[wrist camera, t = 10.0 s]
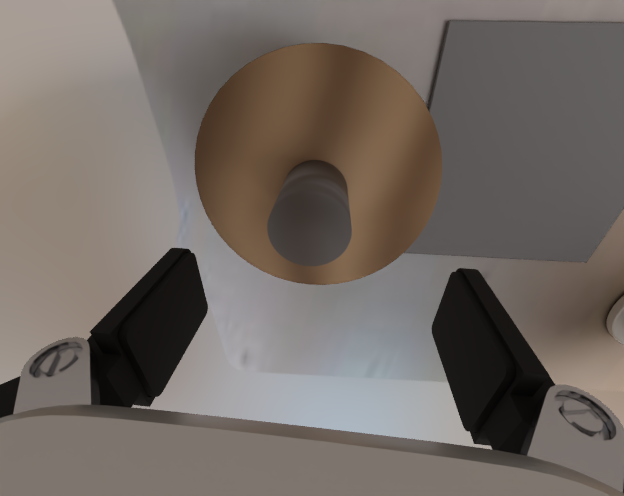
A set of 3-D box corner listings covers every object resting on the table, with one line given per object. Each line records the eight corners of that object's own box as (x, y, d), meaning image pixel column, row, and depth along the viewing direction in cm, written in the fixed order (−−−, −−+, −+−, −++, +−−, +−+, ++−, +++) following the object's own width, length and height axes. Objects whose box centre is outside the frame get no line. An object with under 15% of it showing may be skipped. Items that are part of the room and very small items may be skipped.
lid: (474, 51, 14) (554, 43, 9) (405, 283, 22) (426, 347, 17) (178, 37, 14) (93, 21, 9) (218, 269, 23) (185, 327, 18)
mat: (740, 26, 18) (749, 25, 18) (582, 259, 29) (586, 262, 28) (447, 21, 19) (450, 20, 19) (397, 249, 30) (397, 252, 29)
